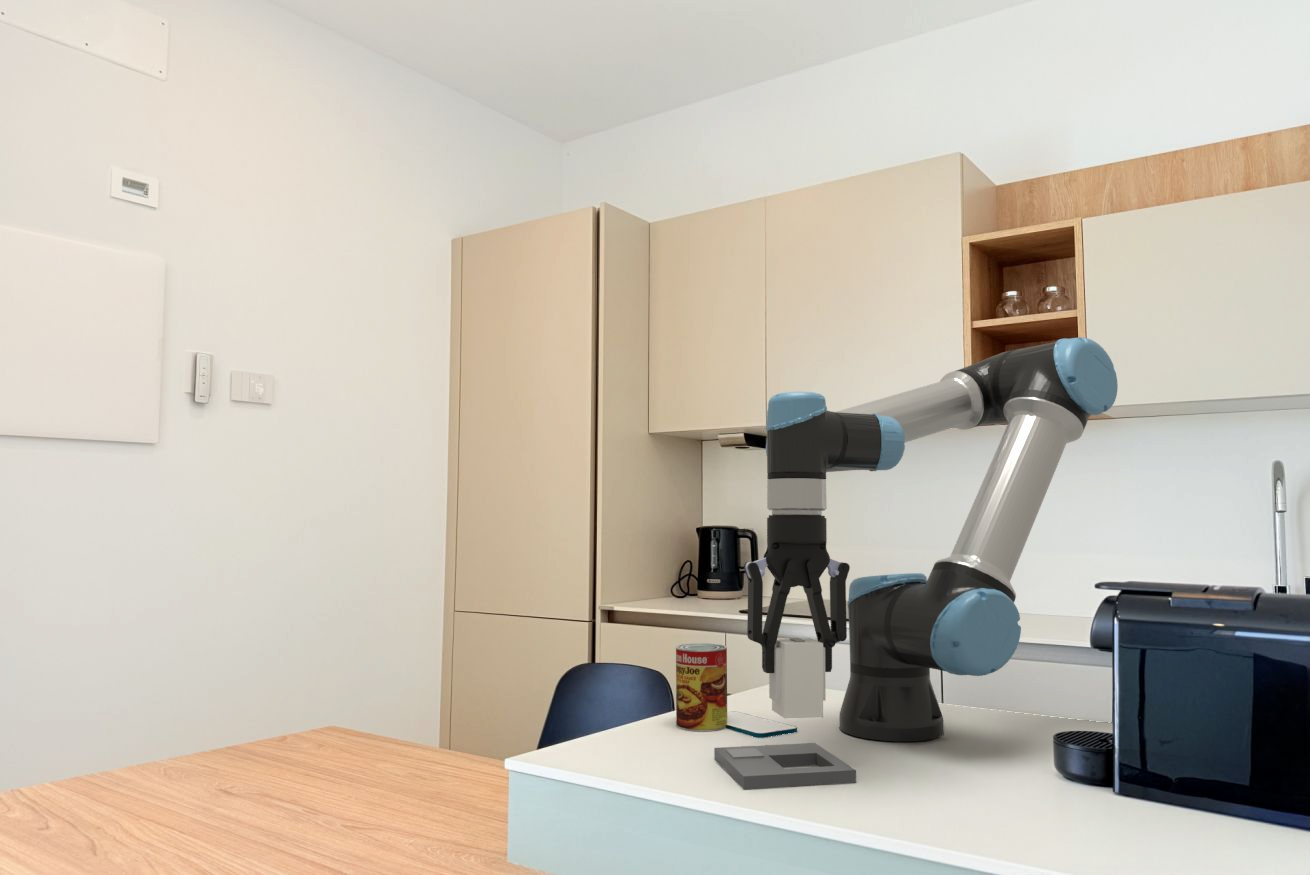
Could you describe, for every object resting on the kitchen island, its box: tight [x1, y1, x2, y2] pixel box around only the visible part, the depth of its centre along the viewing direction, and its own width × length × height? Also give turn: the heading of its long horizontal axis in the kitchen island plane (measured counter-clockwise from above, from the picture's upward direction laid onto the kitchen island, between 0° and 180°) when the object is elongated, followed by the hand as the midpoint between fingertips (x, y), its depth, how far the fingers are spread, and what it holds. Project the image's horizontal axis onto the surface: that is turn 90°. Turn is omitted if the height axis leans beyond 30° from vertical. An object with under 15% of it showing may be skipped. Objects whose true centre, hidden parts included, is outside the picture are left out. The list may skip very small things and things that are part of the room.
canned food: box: [675, 642, 728, 732], centre depth 145 cm, size 8×8×12 cm
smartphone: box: [725, 711, 798, 739], centre depth 145 cm, size 8×1×16 cm
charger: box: [771, 637, 824, 719], centre depth 118 cm, size 5×5×9 cm
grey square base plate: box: [713, 742, 857, 790], centre depth 118 cm, size 14×14×2 cm
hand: (797, 698), depth 118 cm, fingers closed on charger, 5 cm apart
